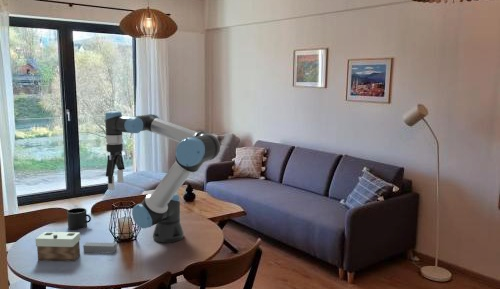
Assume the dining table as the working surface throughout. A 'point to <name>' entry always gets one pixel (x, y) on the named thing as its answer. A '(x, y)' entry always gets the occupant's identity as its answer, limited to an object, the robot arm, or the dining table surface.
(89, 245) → the pad
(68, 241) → the cream rectangular block
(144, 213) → the robot arm
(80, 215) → the mug
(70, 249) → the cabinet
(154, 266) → the dining table surface
